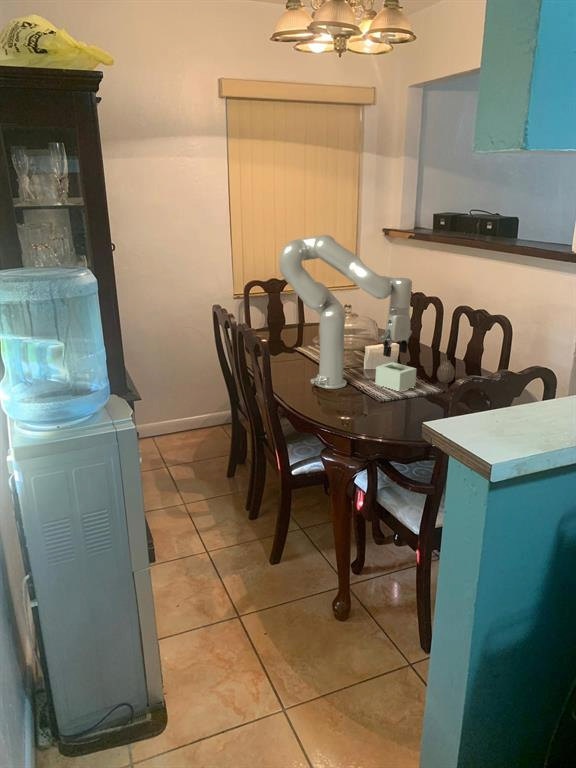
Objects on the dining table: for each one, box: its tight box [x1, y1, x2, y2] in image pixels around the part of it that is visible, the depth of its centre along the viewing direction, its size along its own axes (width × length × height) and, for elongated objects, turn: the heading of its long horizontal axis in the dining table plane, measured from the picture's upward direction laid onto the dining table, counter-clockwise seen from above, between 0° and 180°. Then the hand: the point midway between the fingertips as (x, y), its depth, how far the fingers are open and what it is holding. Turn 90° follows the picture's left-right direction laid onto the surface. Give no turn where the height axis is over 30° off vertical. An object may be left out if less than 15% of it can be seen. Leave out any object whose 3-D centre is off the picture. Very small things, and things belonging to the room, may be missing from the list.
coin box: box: [374, 361, 417, 391], centre depth 224 cm, size 10×12×8 cm
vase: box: [436, 359, 456, 384], centre depth 230 cm, size 7×7×9 cm
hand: (394, 354), depth 221 cm, fingers open, 9 cm apart
